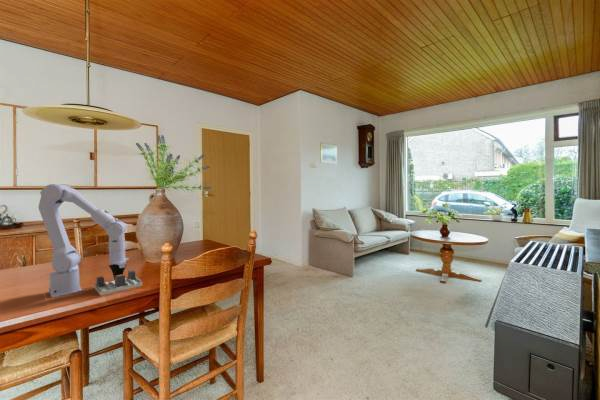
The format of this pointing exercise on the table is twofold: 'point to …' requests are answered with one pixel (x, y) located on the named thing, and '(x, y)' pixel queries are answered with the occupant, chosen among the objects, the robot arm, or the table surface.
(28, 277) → the table surface
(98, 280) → the panel
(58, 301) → the table surface
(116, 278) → the block
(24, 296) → the table surface
